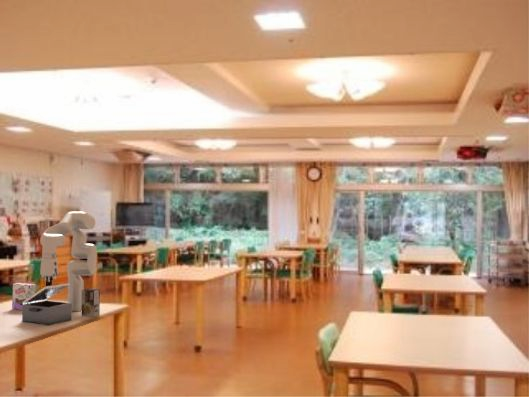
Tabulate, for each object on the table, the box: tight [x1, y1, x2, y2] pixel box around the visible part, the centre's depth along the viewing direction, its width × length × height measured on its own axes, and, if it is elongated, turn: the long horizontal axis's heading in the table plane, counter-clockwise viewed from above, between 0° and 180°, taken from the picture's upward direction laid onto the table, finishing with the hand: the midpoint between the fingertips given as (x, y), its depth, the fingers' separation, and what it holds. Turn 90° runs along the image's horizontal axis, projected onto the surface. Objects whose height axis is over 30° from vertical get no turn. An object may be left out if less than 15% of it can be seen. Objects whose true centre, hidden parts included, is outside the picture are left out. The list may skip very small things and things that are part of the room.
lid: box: [22, 283, 70, 304], centre depth 351 cm, size 19×20×3 cm
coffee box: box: [81, 288, 101, 318], centre depth 368 cm, size 9×6×16 cm
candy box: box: [11, 282, 36, 311], centre depth 387 cm, size 14×6×16 cm, turn 68°
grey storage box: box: [21, 299, 73, 326], centre depth 350 cm, size 22×20×10 cm
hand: (48, 288), depth 350 cm, fingers closed
